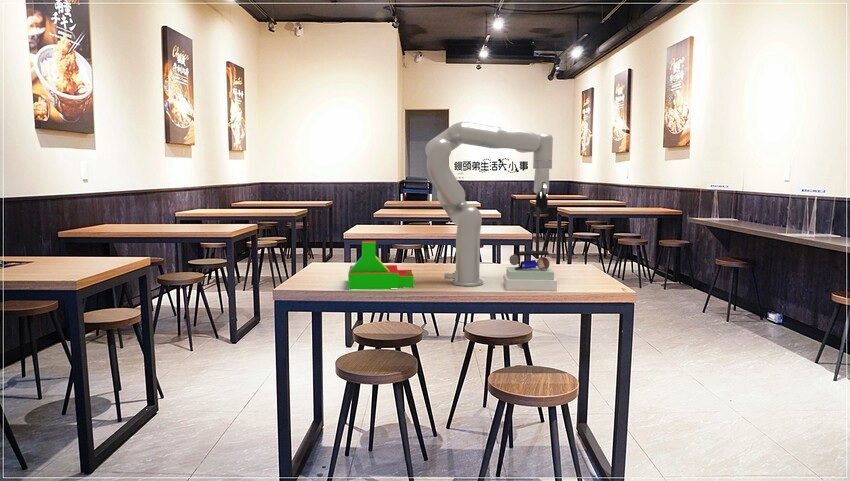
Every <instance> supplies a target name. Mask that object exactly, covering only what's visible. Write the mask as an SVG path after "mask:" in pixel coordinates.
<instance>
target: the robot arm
mask: <svg viewBox="0 0 850 481" xmlns="http://www.w3.org/2000/svg"><path fill="white" fill-rule="evenodd" d="M553 142H554V138H553V135H552V134H550V133H549V134H548V133H542V134H541V133H540V134H536V133H535V132H532V131H526V130H520V129H512V128H505V127H501V126H500V127H499V126H493V125H486V124H482V123H475V122H471V121H470V122H469V121H459V122H456V123H454V124H452V125H450V126H448V128H446V129H445V130H444V131H442V132H440V133H439V134H437V135H436V136H435V137H434V138H432V139H431V140H429V141H428V142H427V144H426V145H425V154H426V156H427V159H426V171H427V173H428V176H429V178H430V181H432V183H433V186H434V187H435V188H436V197H437V200H438V202H439V203H440V206H441V207H442V208H443V210H444V211H445V214H446V215H447V216H448V218H450V221H452V223H453V224H454V225H455V226H457V228H456V236H455V271H454V272H452V273H446V272H445V273H444V279H452V280H451V284H452V285H455V286H459V287H460V286H462V287H476V286H482V285H483V284H484V280H482V279H480V267H481V266H480V264H481V263H480V261H481V260H480V259H481V256H480V255H481V247H480V246H481V228H482V219H483V218H482V214H481V212H480V210H479V209H478V208H477V206H474V205H472V204H469V203H468V202H467V201H466V199H465V198H466V191H465V190H464V187H463V186H462V185H461V184H460V182H459V181H458V179H457V178H456V176H455V175H454V173H453V171H452V170H451V168H450V164H449V159H450V157H451V154H452V151H454V150H455V149H456V148H457V149H458V147H459V146H461V145H467V146H475V147H481V148H488V149H510V150H515V151H517V152H519V153H521V154H522V153H524V154H525V153H533V155H532V156H533V158H532V161H533V162H532V169H533V170H534V176H533V177H534V178H533V192H534V193H535V196H536V197H535V207H537V208H539V209H548V206H549V205H548V204H549V202H548V198H549V197H548V193H549V191H550V170H552V169H553V146H554V145H553Z"/></svg>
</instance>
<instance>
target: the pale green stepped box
mask: <svg viewBox="0 0 850 481" xmlns="http://www.w3.org/2000/svg"><path fill="white" fill-rule="evenodd" d="M515 267H516V266H506V272H505V273H504V274H503V285H504V288H505V290H506V291H514V290H531V291H530V292H536V291H538V292H547V291H548V292H557V291H558V280H557V279H556V278H555V272H554V270H553V269H552V268H551V267H550V266H549V267H548V268H547V269H546V270H541V269H539V268H538V267H537V266H536V268H528V269H519V270H515V269H516V268H515Z"/></svg>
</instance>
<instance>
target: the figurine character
mask: <svg viewBox="0 0 850 481" xmlns="http://www.w3.org/2000/svg"><path fill="white" fill-rule="evenodd" d="M549 254H550V253H549V250H527V251H525V250H519V251H518V255H517V254H511V255H510V256H509V263H510V265H512V266H514V267H515V268H516V269H515V270H519V269H528V268H536V267H538V268H539V269H541V270H546V269H547V268H548V267H550V260H549V258H548V257H544V256H549ZM521 256H542V257H540V258H538V259H537V261H536V259H534V260H533V259H532V260H522V261H521ZM517 265H518V266H517Z"/></svg>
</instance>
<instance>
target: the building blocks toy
mask: <svg viewBox="0 0 850 481" xmlns="http://www.w3.org/2000/svg"><path fill="white" fill-rule="evenodd" d="M376 243H377V242H376V240H362V241H361V256H360V257H359V259H358V260H357V261H356V262H355V263H354V265H350V266H349V270H348V276H347V277H348V279H347V282H348V290H349V289H389V290H392V289H391V288H399V287H414V284H415V280H414V279H415V277H414V274H413V271H412V269H398V266H397V264H384V262H382V260H380V258H379V257H378V256H377V254H376V251H377V250H376V247H377V246H376V245H377V244H376ZM399 289H400V288H399Z"/></svg>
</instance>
